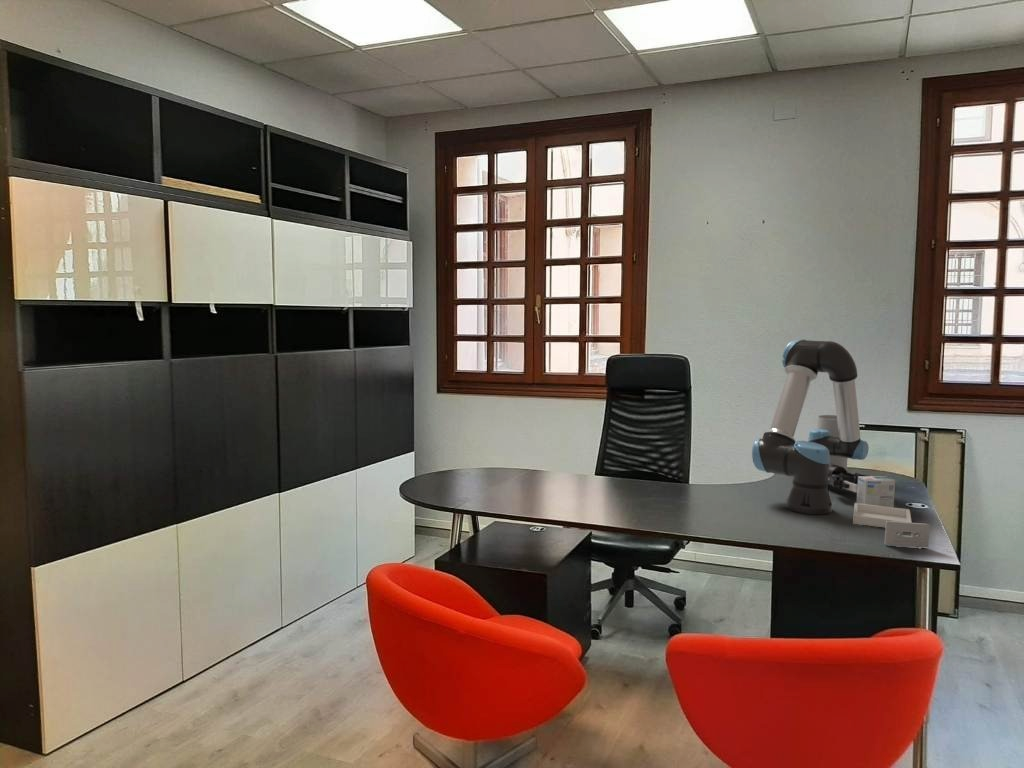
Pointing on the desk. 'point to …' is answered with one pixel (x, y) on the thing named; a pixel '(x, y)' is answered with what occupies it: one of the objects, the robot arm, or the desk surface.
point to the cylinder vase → (832, 426)
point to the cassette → (904, 540)
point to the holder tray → (879, 515)
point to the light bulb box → (876, 490)
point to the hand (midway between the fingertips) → (872, 487)
